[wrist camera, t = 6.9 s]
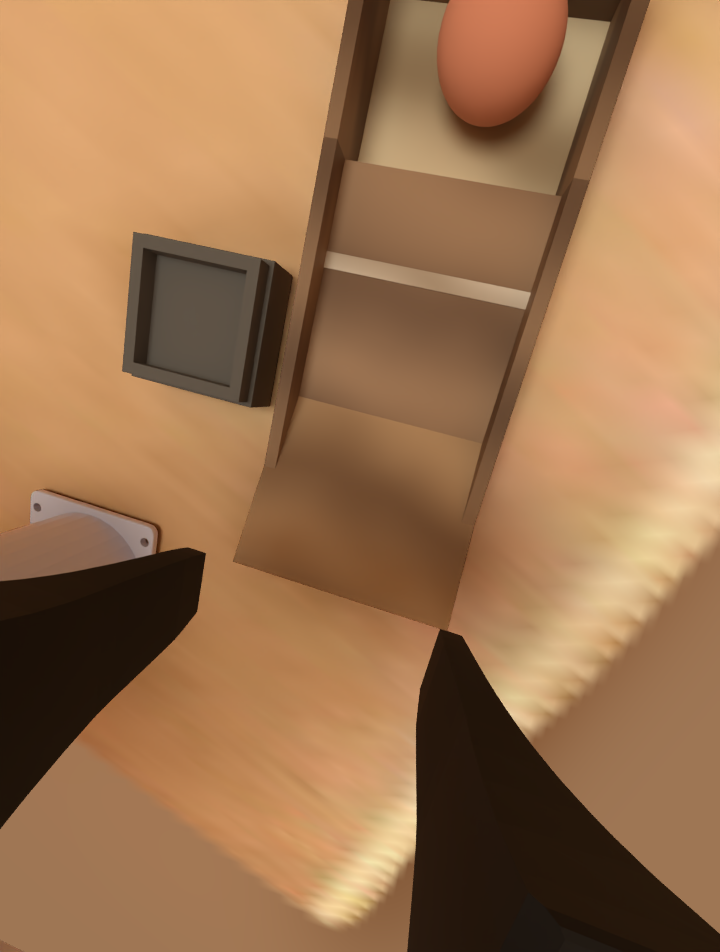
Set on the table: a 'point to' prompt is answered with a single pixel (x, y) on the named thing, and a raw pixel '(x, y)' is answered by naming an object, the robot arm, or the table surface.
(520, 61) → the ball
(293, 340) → the lane
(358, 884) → the table surface
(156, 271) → the grey square tray
